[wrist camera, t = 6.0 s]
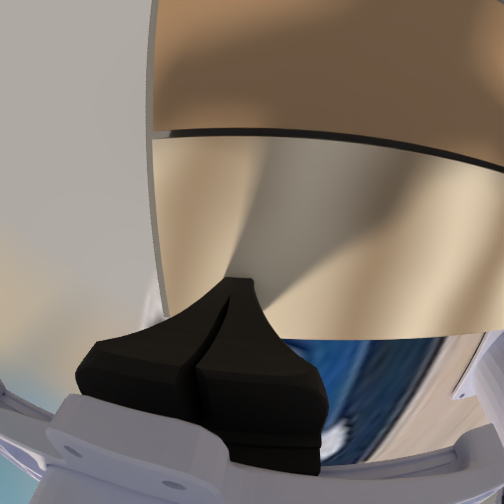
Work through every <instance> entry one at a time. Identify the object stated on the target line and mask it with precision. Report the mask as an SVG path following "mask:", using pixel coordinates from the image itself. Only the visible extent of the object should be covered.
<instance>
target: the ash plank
mask: <svg viewBox="0 0 504 504" xmlns="http://www.w3.org/2000/svg"><path fill="white" fill-rule="evenodd" d="M152 150H153V171H154V187H155V201H156V213H157V224H158V234H159V243H160V252H161V260H162V268H163V275H164V282H165V289H166V296H167V302H168V308H169V314H170V318H171V317H173V316H175V315H176V314H178V313H180V312H182V311H183V310H185V309H186V308H188V307H189V306H191V305H192V304H193V303H195V302H196V301H197V300H199V299H200V298H201V297H203V296H204V295H205V294H206V293H207V292H209V291H210V290H211V289H212V288H213V287H214V286H215V285H216V284H218V283H219V282H220V281H221V280H222V279H223V278H225V277H236V278H252V279H253V280H254V289H255V293H256V296H257V299H258V301H259V304H260V306H261V309H262V311H263V313H264V314H265V316H266V318H267V320H268V322H269V323H270V325H271V326H272V328H273V329H274V330H275V332H276V333H277V334H278V336H279V337H280V338H286V339H314V340H380V339H407V338H425V337H440V336H452V335H463V334H472V333H481V332H489V331H497V330H503V329H504V173H503V172H500V171H496V170H493V169H489V168H486V167H482V166H479V165H475V164H471V163H467V162H463V161H459V160H455V159H450V158H446V157H442V156H437V155H432V154H427V153H422V152H417V151H411V150H406V149H400V148H394V147H388V146H381V145H374V144H366V143H359V142H350V141H341V140H331V139H319V138H306V137H290V136H265V135H206V136H182V137H166V138H159V139H153V140H152Z"/></svg>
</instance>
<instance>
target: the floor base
mask: <svg viewBox="0 0 504 504" xmlns="http://www.w3.org/2000/svg"><path fill="white" fill-rule="evenodd" d="M206 135H265V136H290V137H306V138H319V139H331V140H341V141H350V142H359V143H366V144H374V145H381V146H388V147H394V148H400V149H406V150H411V151H417V152H422V153H427V154H432V155H437V156H442V157H446V158H450V159H455V160H459V161H463V162H467V163H471V164H475V165H479V166H482V167H486V168H489V169H493V170H496V171H500V172H503V173H504V1H503V0H152V5H151V15H150V25H149V37H148V52H147V71H146V151H147V173H148V189H149V202H150V214H151V225H152V234H153V243H154V252H155V260H156V268H157V275H158V282H159V288H160V295H161V301H162V307H163V313H164V317H170V314H169V308H168V302H167V296H166V289H165V282H164V275H163V268H162V260H161V252H160V243H159V234H158V224H157V213H156V201H155V187H154V171H153V150H152V140H153V139H159V138H166V137H182V136H206Z"/></svg>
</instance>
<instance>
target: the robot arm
mask: <svg viewBox="0 0 504 504" xmlns="http://www.w3.org/2000/svg"><path fill="white" fill-rule="evenodd" d="M75 378H76V382H77V385H78V387H79V390H80V392H81V393H82V395H79V394H69V395H68V396H67V398H66V399H65V400H64V401H63V403H62V404H61V406H60V407H59V409H58V411H57V412H56V414H55V415H54V414H52V413H50V412H48V411H46V410H43V409H41V408H39V407H37V406H35V405H33V404H31V403H29V402H28V401H26V400H24V399H22V398H20V397H18V396H17V395H15V394H13V393H11V392H10V391H8V390H6V388H5V386H4V384H3V383H2V381H1V380H0V454H2V455H3V456H4V457H6V458H7V459H8V460H10V461H11V462H12V463H14V464H15V465H16V466H18V467H19V468H21V469H22V470H23V471H25V472H26V473H27V474H29V475H30V476H32V477H33V478H35V479H36V480H38V481H39V484H38V486H37V488H36V490H35V492H34V494H33V496H32V498H31V500H30V502H29V504H480V503H481V502H483V501H484V500H486V499H487V498H489V497H490V496H491V495H493V494H494V493H496V492H497V491H498V492H497V495H496V499H495V504H504V329H503V330H497V331H489V332H486V334H485V336H484V338H483V340H482V342H481V344H480V346H479V348H478V350H477V352H476V354H475V355H474V357H473V359H472V361H471V363H470V365H469V366H468V368H467V370H466V372H465V373H464V375H463V377H462V379H461V380H460V382H459V383H458V385H457V387H456V388H455V390H454V391H453V393H452V395H451V398H452V400H459V399H463V398H468V397H472V396H477V398H478V400H479V402H480V404H481V406H482V408H483V410H484V412H485V414H486V417H487V419H488V421H489V423H490V424H487V425H484V426H481V427H478V428H475V429H472V430H470V431H467V432H466V433H464V434H463V435H462V436H461V437H460V438H459V439H458V440H457V441H456V443H455V444H454V446H450V447H447V448H443V449H439V450H435V451H431V452H427V453H423V454H418V455H413V456H408V457H403V458H398V459H392V460H385V461H378V462H371V463H362V464H353V465H340V466H322V467H321V464H320V448H321V444H322V440H321V432H322V429H323V427H324V424H325V421H326V419H327V416H328V411H329V402H328V397H327V394H326V390H325V387H324V384H323V381H322V379H321V377H320V374H319V372H318V370H317V368H316V367H314V366H313V365H311V364H310V363H309V362H307V361H306V360H304V359H303V358H301V357H300V356H298V355H297V354H296V353H295V352H294V351H292V350H291V349H290V348H289V346H288V345H287V344H286V343H285V342H284V341H283V340H282V339H281V338H280V337H279V336H278V334H277V333H276V332H275V330H274V329H273V328H272V326H271V325H270V323H269V322H268V320H267V318H266V316H265V314H264V313H263V311H262V309H261V306H260V304H259V301H258V299H257V296H256V293H255V289H254V280H253V279H252V278H236V277H225V278H223V279H222V280H221V281H220V282H219V283H218V284H216V285H215V286H214V287H213V288H212V289H211V290H210V291H209V292H207V293H206V294H205V295H204V296H203V297H201V298H200V299H199V300H197V301H196V302H195V303H193V304H192V305H191V306H189V307H188V308H186V309H185V310H183V311H182V312H180V313H178V314H176V315H175V316H173V317H171V318H169V319H167V320H165V321H163V322H161V323H158V324H156V325H154V326H152V327H149V328H147V329H144V330H141V331H139V332H135V333H132V334H129V335H126V336H122V337H118V338H113V339H108V340H103V341H98V342H96V343H95V344H94V346H93V347H92V348H91V350H90V351H89V353H88V354H87V355H86V357H85V358H84V359H83V361H82V362H81V364H80V365H79V366H78V368H77V370H76V372H75Z"/></svg>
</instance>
